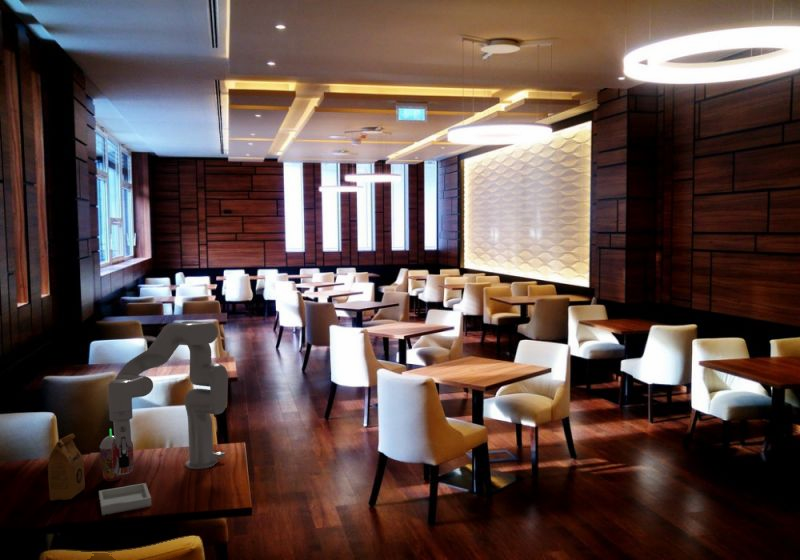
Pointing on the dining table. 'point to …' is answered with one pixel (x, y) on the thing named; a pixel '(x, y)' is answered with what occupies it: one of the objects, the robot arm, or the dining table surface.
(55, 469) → the coffee package
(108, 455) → the smoothie
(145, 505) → the tray
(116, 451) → the soda can
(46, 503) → the dining table surface
